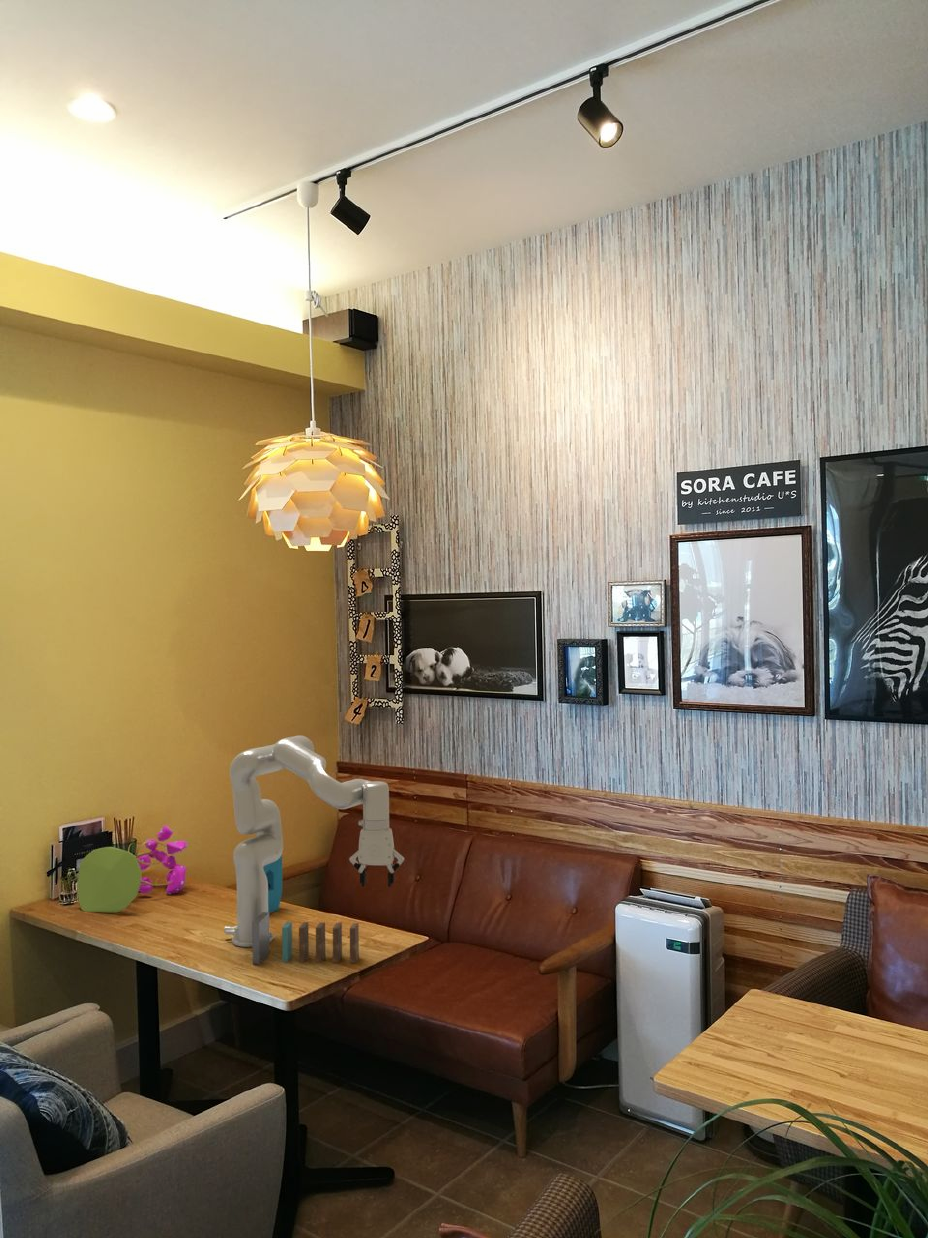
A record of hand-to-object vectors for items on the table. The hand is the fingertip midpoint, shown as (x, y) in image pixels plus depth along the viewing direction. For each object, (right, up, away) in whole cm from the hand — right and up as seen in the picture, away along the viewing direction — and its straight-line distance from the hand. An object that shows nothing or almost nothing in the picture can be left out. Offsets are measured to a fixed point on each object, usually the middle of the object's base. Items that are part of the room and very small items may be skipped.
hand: (377, 885), depth 277 cm
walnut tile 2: (-12, -22, +1) cm, 25 cm away
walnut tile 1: (-7, -22, +1) cm, 23 cm away
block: (-43, -23, +49) cm, 69 cm away
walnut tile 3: (-17, -22, +1) cm, 28 cm away
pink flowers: (-93, -24, +67) cm, 116 cm away
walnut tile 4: (-22, -22, +2) cm, 31 cm away
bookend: (-34, -22, +3) cm, 41 cm away
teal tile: (-27, -22, +2) cm, 35 cm away
